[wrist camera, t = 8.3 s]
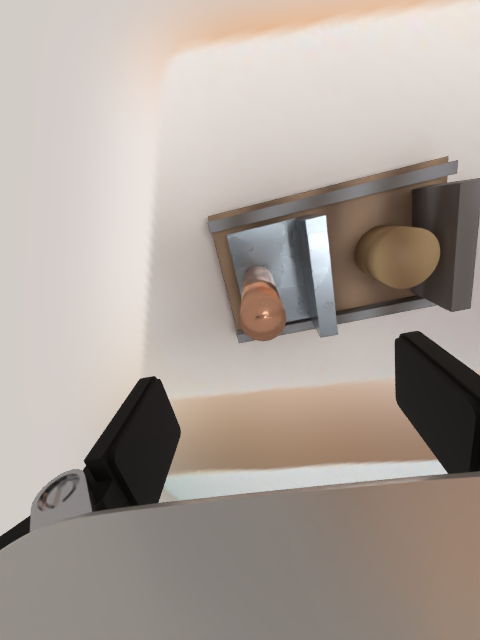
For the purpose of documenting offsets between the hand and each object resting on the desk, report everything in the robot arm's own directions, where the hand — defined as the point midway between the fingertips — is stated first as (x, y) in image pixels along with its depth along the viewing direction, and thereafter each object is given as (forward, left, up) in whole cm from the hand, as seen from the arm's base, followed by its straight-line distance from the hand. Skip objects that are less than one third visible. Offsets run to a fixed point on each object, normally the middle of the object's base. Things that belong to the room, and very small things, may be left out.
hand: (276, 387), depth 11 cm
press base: (-8, 0, -20) cm, 22 cm away
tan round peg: (-12, 0, -19) cm, 22 cm away
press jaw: (-2, 0, -19) cm, 19 cm away
